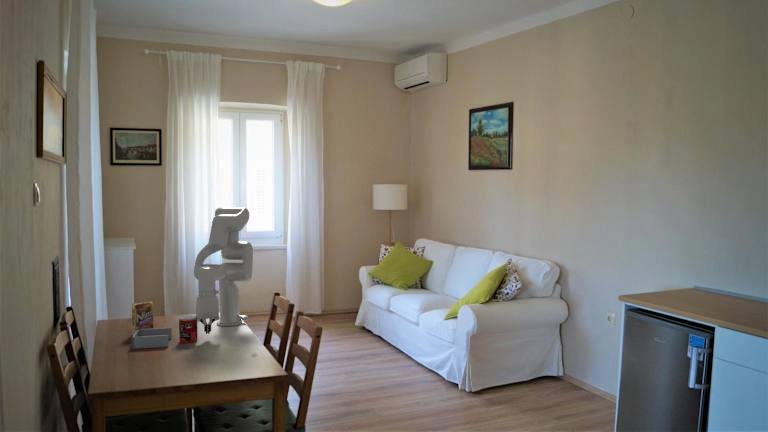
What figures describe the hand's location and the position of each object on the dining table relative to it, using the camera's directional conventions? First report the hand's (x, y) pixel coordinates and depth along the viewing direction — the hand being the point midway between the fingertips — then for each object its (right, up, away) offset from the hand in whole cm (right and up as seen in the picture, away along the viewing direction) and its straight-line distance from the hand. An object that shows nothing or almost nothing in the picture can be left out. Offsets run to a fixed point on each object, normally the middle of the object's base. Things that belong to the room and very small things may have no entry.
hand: (207, 333), depth 271 cm
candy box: (-34, -3, +10) cm, 36 cm away
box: (-23, -3, -6) cm, 24 cm away
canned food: (-8, -4, -2) cm, 9 cm away
